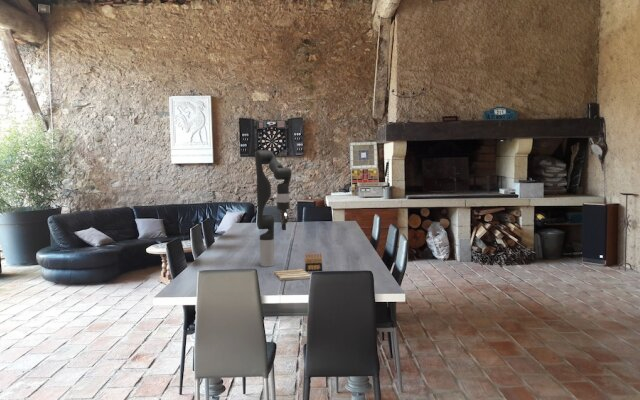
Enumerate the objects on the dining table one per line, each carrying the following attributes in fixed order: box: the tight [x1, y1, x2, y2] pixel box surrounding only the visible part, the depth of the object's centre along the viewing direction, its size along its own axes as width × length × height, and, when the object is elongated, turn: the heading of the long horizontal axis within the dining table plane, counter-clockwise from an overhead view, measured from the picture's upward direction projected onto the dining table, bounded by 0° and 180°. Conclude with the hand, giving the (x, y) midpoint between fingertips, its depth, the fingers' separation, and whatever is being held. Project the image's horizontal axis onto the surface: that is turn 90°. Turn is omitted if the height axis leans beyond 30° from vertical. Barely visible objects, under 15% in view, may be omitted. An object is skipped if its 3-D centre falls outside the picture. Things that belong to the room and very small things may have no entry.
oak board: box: [273, 268, 306, 278], centre depth 304 cm, size 9×18×2 cm, turn 108°
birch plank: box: [276, 272, 311, 282], centre depth 295 cm, size 10×18×2 cm, turn 108°
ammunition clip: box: [304, 251, 323, 273], centre depth 312 cm, size 11×2×12 cm, turn 93°
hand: (283, 230), depth 302 cm, fingers closed
